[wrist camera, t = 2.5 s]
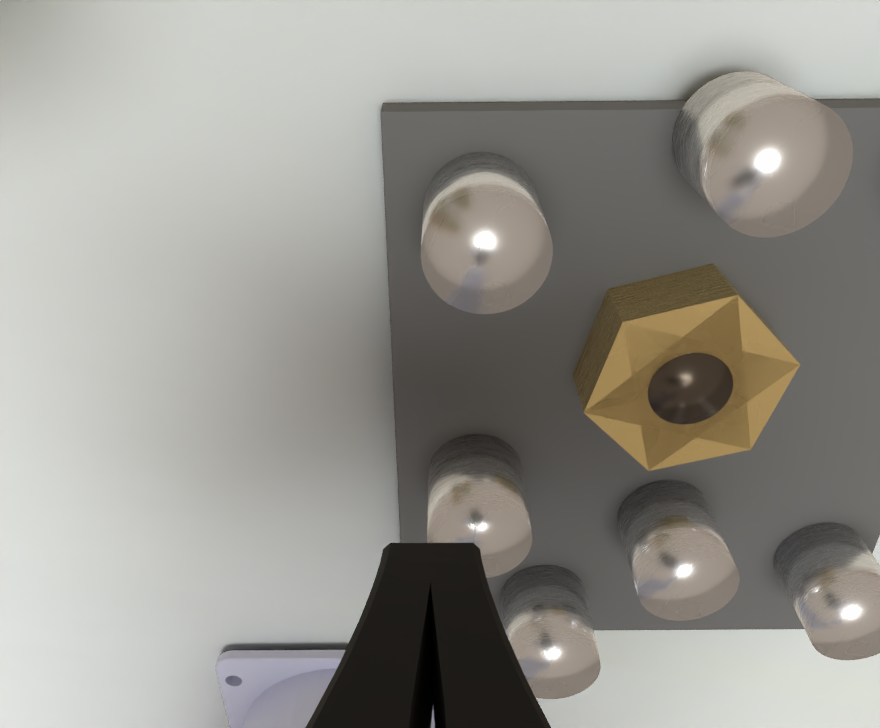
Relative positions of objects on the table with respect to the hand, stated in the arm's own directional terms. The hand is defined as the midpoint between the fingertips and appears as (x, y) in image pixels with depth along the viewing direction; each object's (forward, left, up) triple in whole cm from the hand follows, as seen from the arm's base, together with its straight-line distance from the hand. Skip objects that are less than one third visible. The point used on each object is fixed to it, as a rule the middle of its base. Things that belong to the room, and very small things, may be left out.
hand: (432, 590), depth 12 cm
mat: (-2, -5, -8) cm, 10 cm away
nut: (0, -5, -7) cm, 9 cm away
